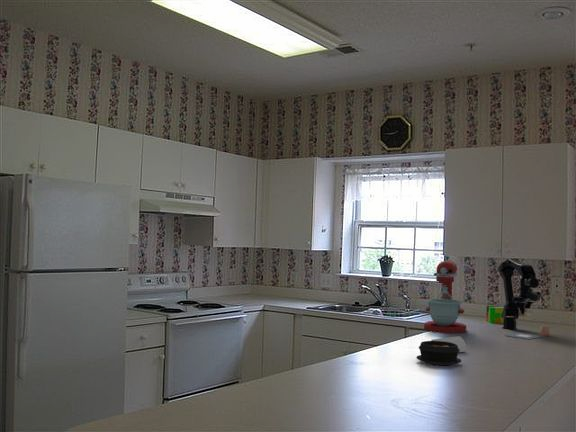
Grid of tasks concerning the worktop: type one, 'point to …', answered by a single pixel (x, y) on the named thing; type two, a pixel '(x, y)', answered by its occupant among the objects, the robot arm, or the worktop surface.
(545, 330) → the brown rounded lump
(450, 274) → the stand mixer
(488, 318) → the puzzle toy
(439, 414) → the worktop surface
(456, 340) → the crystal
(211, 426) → the worktop surface
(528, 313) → the oak block
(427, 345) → the casserole
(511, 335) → the board
